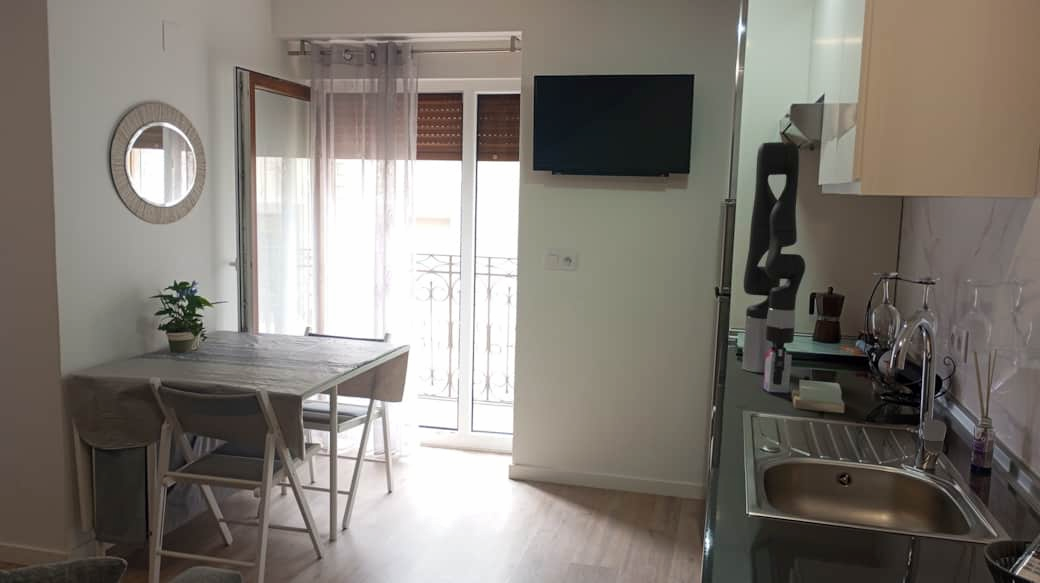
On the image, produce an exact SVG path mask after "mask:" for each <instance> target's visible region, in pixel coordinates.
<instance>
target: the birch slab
mask: <svg viewBox="0 0 1040 583" xmlns="http://www.w3.org/2000/svg"><path fill="white" fill-rule="evenodd" d="M791 400H792V403H793V406H794V409H799V410H807V411H808V410H809V411H810V410H811V411H817V412H818V411H819V412H830V413H838V414H839V413H840V414H844V413H845V405H846V404H845V403H844V400H843V398H841V403H833V402H824V401H814V400H805V399H800V396H799V388H798V389H795V388H793V389H791Z"/></svg>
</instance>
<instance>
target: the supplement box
mask: <svg viewBox="0 0 1040 583" xmlns="http://www.w3.org/2000/svg"><path fill="white" fill-rule="evenodd" d="M773 357H774V359H775V354H774V353H771V351H770V350H766V359H765V370H764V373H763V380H762V382H763V383H762V390H763V391H764V392H766V393H767V394H769V395H789V391H790V390H789V388H790V380H791V378H790V377H791V370H792V369H791V368H792V358H793V355H792V354H790V353H789V352H787V351H786V355H785V364H784V371H783V372H782V383H781V385H776V384H773V376H774V370H773V368H774V364H773V363H772V358H773ZM777 366H781V364H777Z"/></svg>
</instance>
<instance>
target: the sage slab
mask: <svg viewBox="0 0 1040 583" xmlns="http://www.w3.org/2000/svg"><path fill="white" fill-rule="evenodd" d="M798 390H799V396H800V399H805V400H814V401H824V402H833V403H841V399H842V389H841V386H840V384H839V383H838V382H837V383H836V382H830V381H829V382H828V381H826V382H825V381H818V380H817V381H816V380H808V379H807V380H805V379H799V382H798Z"/></svg>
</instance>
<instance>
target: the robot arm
mask: <svg viewBox="0 0 1040 583" xmlns="http://www.w3.org/2000/svg"><path fill="white" fill-rule="evenodd" d="M799 169H800V152H799V147H798V145H797V144H796V143H795V142H794V141H776V142H773V141H772V142H770V141H769V142H763V143H761V144H760V145H759V147H758V150H757V156H756V172H755V173H756V174H755V189H754V190H755V192H754V200H753V206H752V214H751V221H750V230H749V231H750V232H749V243H748V244H749V246H748V251H747V252H748V254H747V257H746V258H747V259H746V264H745V265H746V266H745V270H744V274H743V275H744V276H743V290H744V293H745V294H747V295H750V296H760V297H761V296H764V297H765V296H766V299H765V300H763V301H762V302H760V303H757V304H753V305H749V306H748V307H747V308H746V311H745V312H746V314H745V326H744V342H743V352H742V353H743V354H742V367H741V368H742V370H744V371H747V372H751V373H760V374H762V373H763V374H764V370H765V359H766V350H770V351H771V353H774V354H775V359H774V357H773V358H772V363H773V364H774V368H773V370H774V376H773V384H776V385H781V383H782V372H783V371H784V364H785V355H786V352H787V348H786V347H785V344H791V343H793V342H794V340H795V339H794V338H795V324H796V304H797V303H796V300H797V295H798V291H799V288H800V286H801V282H802V279H803V277H804V275H805V272H806V261H805V259H804V257H803V256H802V255H800V254H795V253H782V249H783V248H787V247H791V246H794V245H795V244H796V243H797V241H798V236H797V234H798V233H797V217H796V216H797V213H796V212H797V211H796V210H797V198H798V186H799V184H798V183H799V172H800V171H799ZM784 175H785V176H786V177H785V185H784V187H783V190H782V192H781V193H780V196H779V197H778V199H777V197H776V196H775V194H774V193H773V189H772V187H771V185H770V184H769V183H770V182H769V176H784ZM766 253H767V256H766V260H765V263H764V266H762V265H761V266H759V264H760V262H761V260H762V258H763V257H764V256H765V255H766ZM781 280H786V281H785V283H784V284H783V285H781ZM780 285H781V286H780ZM777 364H781V366H777Z"/></svg>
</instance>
